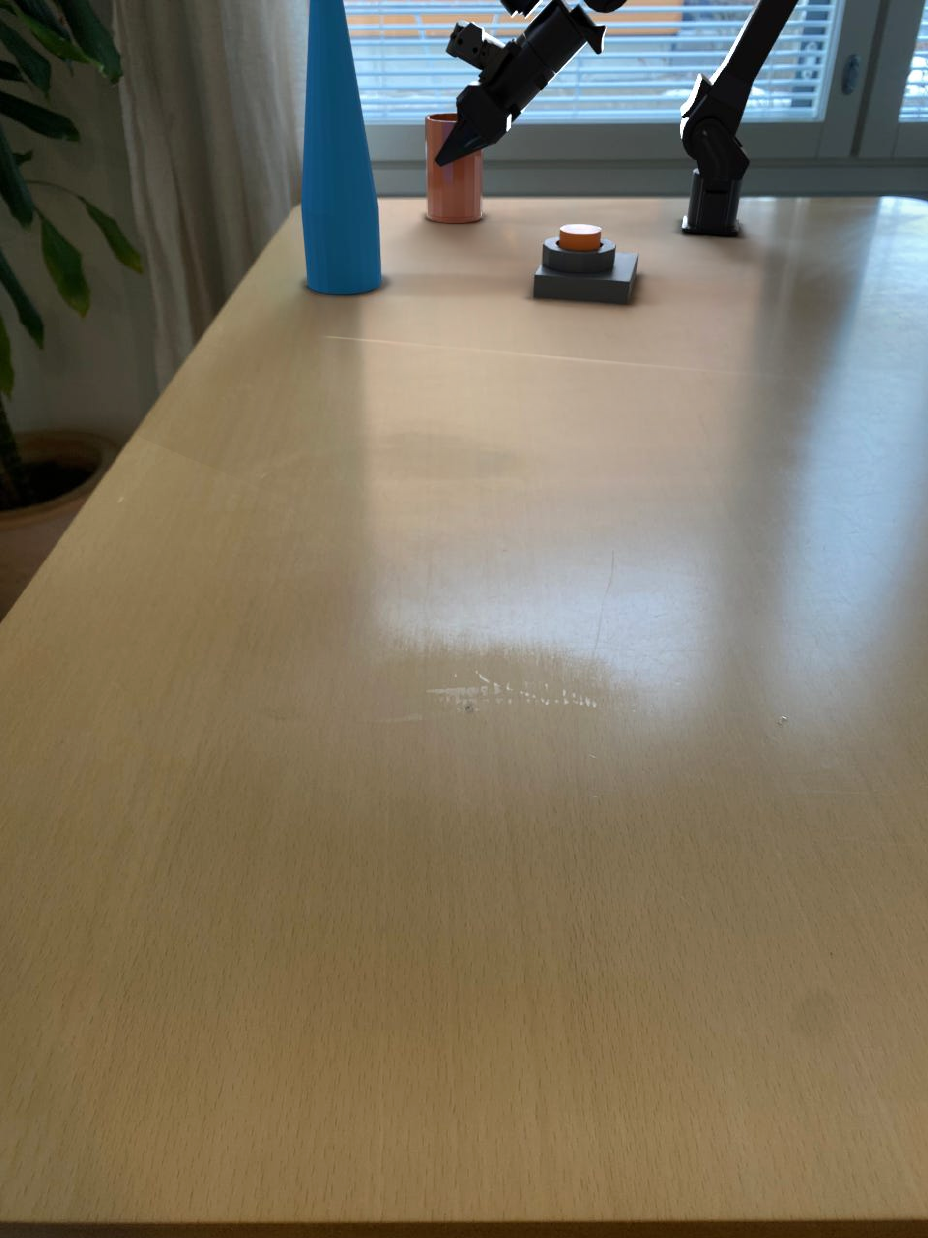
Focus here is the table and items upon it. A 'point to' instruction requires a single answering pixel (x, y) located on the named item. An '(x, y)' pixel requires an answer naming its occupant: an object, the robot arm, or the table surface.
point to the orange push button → (580, 237)
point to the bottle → (336, 164)
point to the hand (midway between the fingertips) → (443, 157)
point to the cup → (451, 177)
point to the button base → (585, 273)
